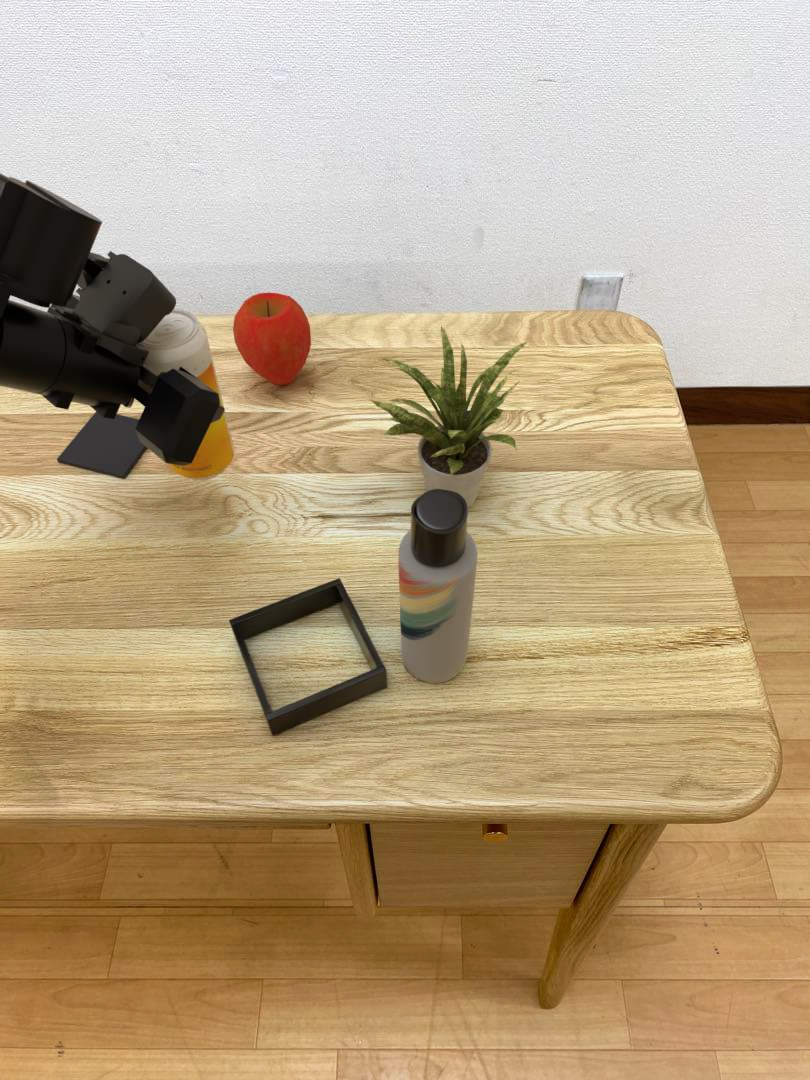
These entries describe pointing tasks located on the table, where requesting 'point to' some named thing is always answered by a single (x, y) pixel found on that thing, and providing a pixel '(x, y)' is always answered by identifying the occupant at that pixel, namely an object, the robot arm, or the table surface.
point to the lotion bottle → (436, 586)
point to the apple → (273, 336)
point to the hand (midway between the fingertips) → (199, 396)
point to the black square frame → (292, 611)
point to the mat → (105, 446)
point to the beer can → (189, 348)
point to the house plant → (453, 423)
